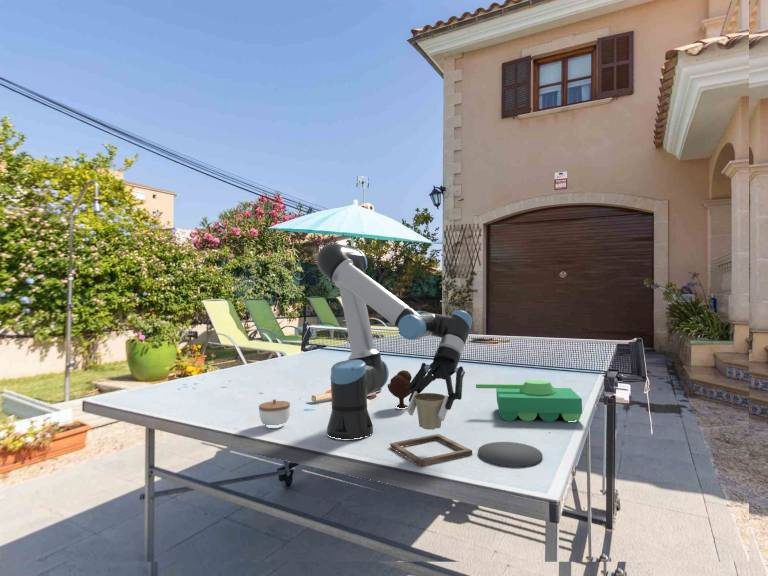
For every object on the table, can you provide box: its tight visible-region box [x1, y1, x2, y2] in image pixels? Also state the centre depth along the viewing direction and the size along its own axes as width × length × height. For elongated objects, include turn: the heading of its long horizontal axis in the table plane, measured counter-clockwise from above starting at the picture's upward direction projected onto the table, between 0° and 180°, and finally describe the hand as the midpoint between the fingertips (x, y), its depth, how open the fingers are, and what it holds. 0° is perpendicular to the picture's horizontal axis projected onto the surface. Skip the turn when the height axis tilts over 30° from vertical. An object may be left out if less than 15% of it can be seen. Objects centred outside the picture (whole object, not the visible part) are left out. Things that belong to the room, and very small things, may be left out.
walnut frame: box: [389, 433, 473, 467], centre depth 124 cm, size 17×17×1 cm
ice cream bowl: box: [386, 369, 413, 408], centre depth 173 cm, size 11×11×15 cm
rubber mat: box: [477, 441, 543, 468], centre depth 119 cm, size 17×17×1 cm
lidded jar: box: [258, 399, 291, 426], centre depth 153 cm, size 11×11×9 cm
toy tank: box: [475, 379, 583, 422], centre depth 158 cm, size 18×12×35 cm
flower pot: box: [414, 392, 445, 431], centre depth 124 cm, size 9×9×9 cm
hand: (424, 415), depth 121 cm, fingers closed on flower pot, 9 cm apart
